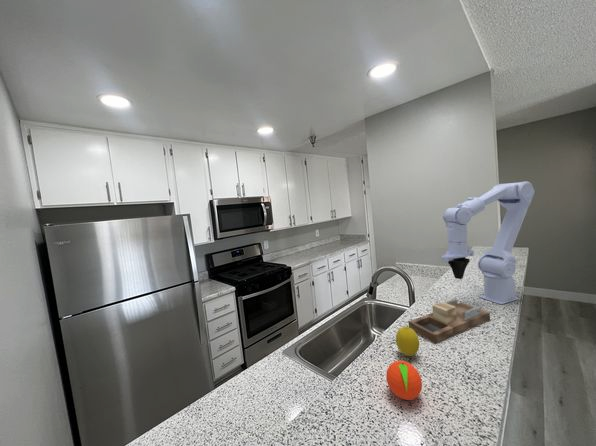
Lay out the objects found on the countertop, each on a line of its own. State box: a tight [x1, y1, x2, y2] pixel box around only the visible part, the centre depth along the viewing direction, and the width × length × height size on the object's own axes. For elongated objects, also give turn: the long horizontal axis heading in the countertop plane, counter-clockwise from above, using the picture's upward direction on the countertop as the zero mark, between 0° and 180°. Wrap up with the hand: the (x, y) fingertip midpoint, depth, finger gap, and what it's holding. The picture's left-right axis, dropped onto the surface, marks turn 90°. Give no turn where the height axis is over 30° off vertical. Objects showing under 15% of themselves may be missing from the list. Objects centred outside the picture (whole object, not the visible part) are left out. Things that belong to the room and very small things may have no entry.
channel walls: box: [443, 298, 482, 321], centre depth 76 cm, size 8×8×2 cm
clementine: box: [385, 360, 423, 401], centre depth 49 cm, size 8×7×7 cm
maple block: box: [432, 301, 457, 323], centre depth 74 cm, size 4×4×4 cm
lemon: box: [395, 326, 420, 357], centre depth 62 cm, size 6×6×8 cm
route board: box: [408, 302, 491, 345], centre depth 74 cm, size 25×9×2 cm, turn 112°
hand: (458, 278), depth 85 cm, fingers closed
